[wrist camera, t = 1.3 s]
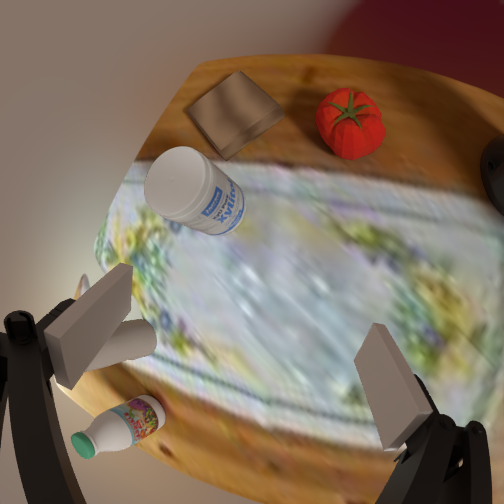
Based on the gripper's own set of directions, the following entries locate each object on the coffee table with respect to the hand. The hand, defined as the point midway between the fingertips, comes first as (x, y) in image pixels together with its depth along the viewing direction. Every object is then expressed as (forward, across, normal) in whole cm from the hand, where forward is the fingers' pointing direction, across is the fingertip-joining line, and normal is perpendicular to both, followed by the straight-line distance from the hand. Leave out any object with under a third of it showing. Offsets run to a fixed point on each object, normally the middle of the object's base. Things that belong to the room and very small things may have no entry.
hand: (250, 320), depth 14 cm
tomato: (+34, +11, +15) cm, 38 cm away
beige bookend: (+29, -18, -30) cm, 46 cm away
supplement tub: (+34, -6, -2) cm, 35 cm away
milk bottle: (+22, -12, -42) cm, 48 cm away
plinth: (+41, -8, +14) cm, 44 cm away
